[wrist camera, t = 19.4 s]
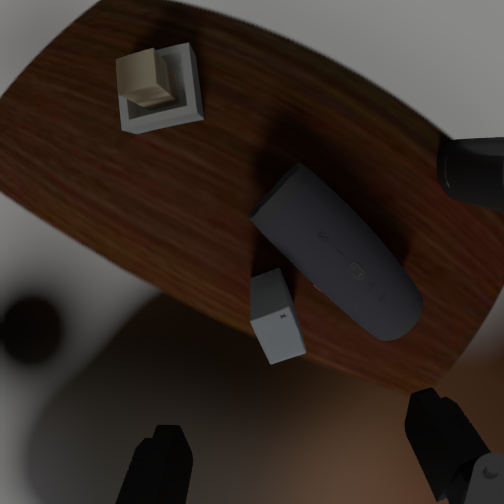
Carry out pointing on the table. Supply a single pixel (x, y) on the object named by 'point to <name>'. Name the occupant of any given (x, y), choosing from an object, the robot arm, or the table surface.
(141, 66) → the birch peg
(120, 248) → the table surface
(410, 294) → the bluetooth speaker
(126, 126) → the socket stand
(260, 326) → the skincare box
